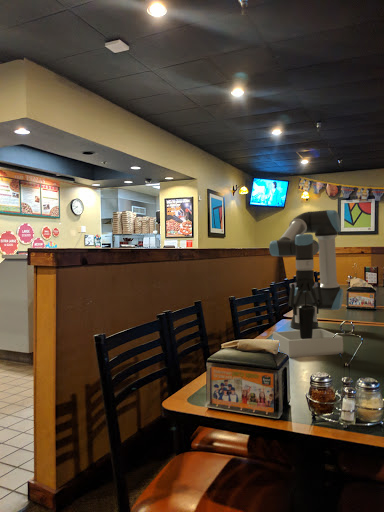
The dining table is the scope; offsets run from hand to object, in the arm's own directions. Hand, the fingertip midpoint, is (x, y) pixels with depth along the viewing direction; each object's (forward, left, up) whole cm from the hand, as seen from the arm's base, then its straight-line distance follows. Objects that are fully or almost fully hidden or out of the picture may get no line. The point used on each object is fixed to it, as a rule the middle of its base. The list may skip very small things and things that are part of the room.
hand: (305, 322), depth 174 cm
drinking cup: (0, 0, -7) cm, 7 cm away
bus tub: (0, 0, -12) cm, 12 cm away
